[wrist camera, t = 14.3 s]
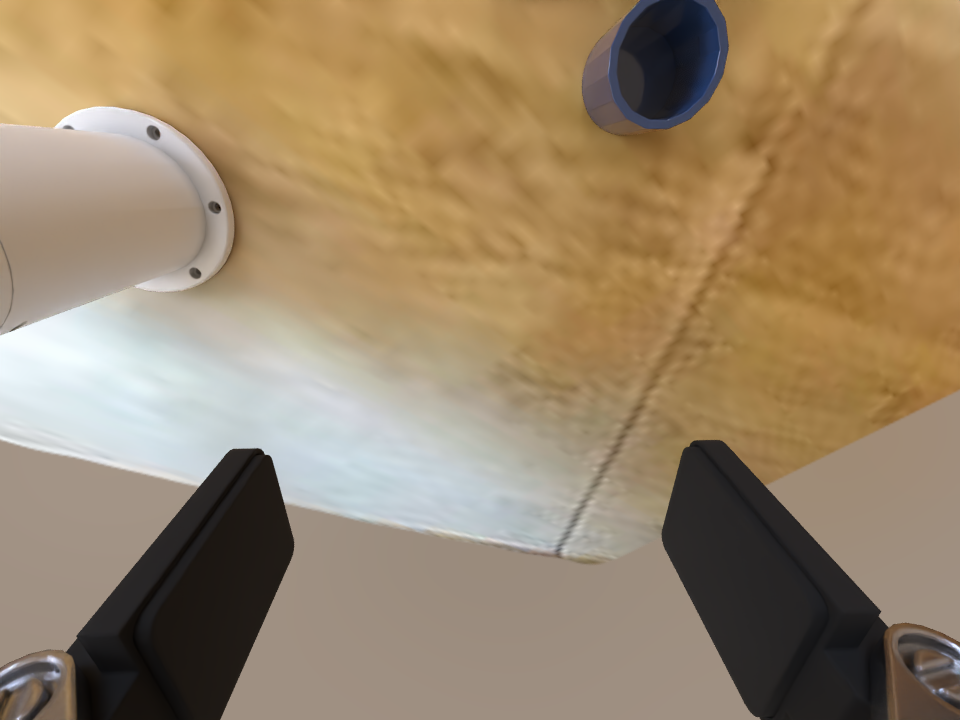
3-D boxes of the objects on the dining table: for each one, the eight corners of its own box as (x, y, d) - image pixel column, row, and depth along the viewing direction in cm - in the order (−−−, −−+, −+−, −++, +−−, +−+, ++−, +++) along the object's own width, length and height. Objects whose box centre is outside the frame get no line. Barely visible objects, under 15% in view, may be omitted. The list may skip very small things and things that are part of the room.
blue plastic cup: (577, 135, 30) (601, 129, 24) (587, 20, 27) (617, -16, 22) (667, 135, 30) (712, 129, 25) (687, 21, 27) (742, -15, 22)
